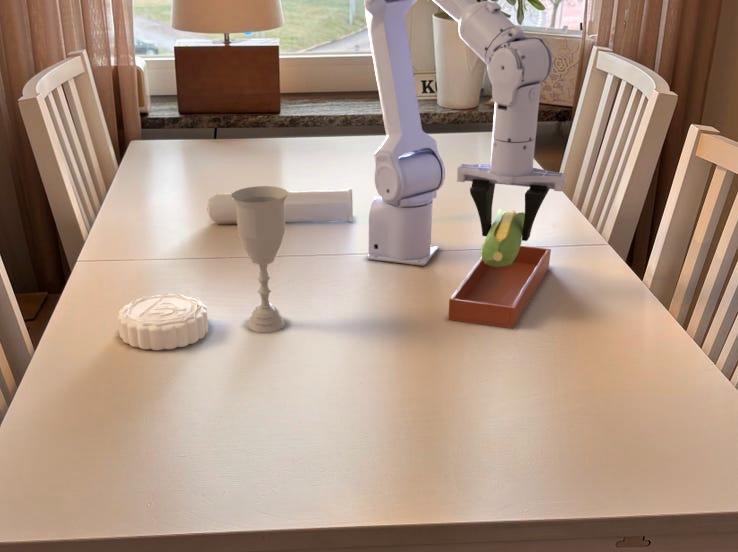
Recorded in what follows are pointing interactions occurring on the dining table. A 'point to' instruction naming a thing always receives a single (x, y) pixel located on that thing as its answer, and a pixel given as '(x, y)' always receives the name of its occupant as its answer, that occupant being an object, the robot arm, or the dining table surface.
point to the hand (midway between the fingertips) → (505, 236)
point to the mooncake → (163, 322)
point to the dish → (499, 289)
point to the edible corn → (503, 239)
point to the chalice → (262, 243)
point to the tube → (292, 206)
